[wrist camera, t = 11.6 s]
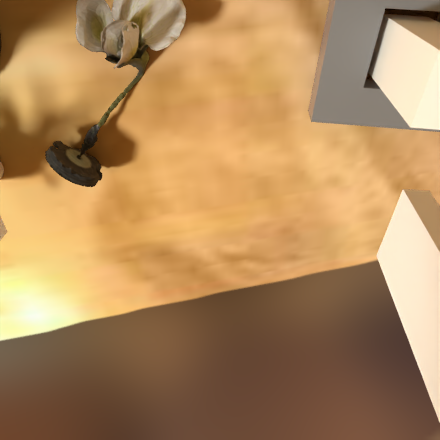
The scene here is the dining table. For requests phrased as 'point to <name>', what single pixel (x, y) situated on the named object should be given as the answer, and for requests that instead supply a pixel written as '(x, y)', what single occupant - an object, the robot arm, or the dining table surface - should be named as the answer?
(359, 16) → the socket
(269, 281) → the dining table surface
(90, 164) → the artificial flower
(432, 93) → the cream long rectangular block
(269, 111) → the dining table surface
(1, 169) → the house plant
